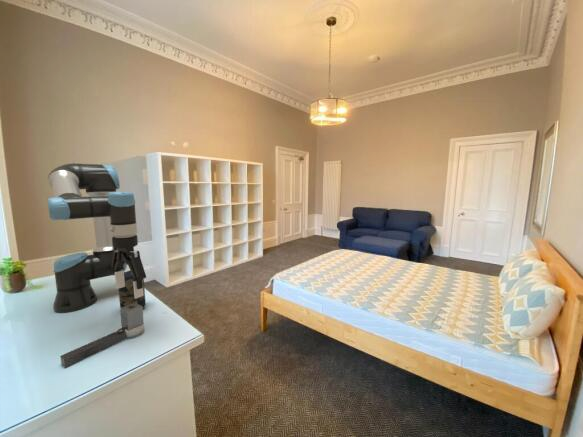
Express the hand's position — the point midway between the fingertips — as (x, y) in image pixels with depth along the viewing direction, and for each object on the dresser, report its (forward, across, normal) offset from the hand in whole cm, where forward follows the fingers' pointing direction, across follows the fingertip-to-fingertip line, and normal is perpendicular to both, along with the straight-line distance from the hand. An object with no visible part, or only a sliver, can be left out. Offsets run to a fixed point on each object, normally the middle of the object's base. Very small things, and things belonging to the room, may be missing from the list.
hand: (129, 292), depth 90 cm
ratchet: (+16, +1, -8) cm, 18 cm away
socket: (+13, +1, 0) cm, 13 cm away
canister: (+17, -18, +9) cm, 26 cm away
